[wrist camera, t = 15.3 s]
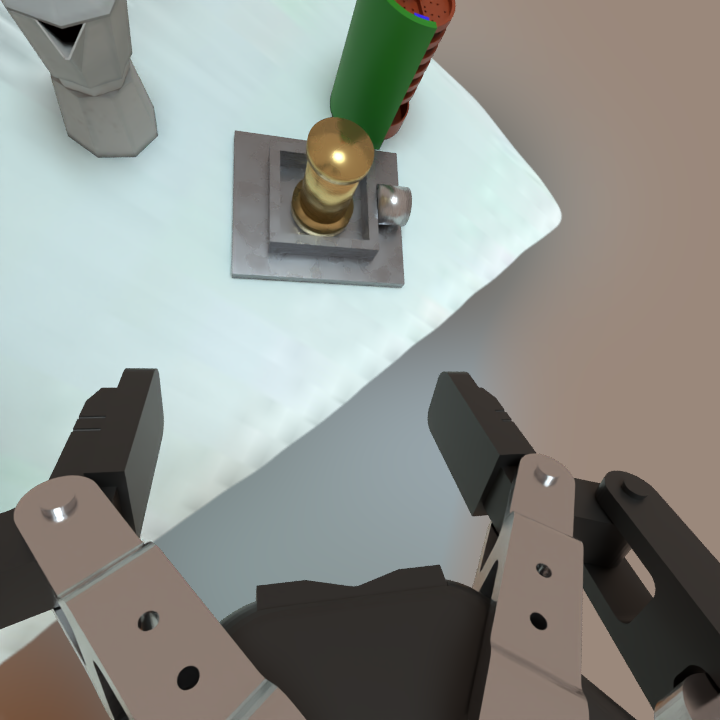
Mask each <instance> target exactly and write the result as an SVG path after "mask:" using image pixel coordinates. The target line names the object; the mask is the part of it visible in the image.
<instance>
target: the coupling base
mask: <svg viewBox="0 0 720 720" xmlns="http://www.w3.org/2000/svg"><path fill="white" fill-rule="evenodd" d="M306 144H307V141H305V140H298V139H291V138H284V137H277V136H270V135H263V134H256V133H249V132H242V131H235V141H234V191H233V240H232V277H233V278H250V279H267V280H283V281H300V282H317V283H334V284H351V285H368V286H384V287H402V286H403V285H404V269H403V253H402V236H401V226H405V225H406V223H407V222H408V219H409V216H410V212H411V205H412V195H411V191H410V189H409V188H408V187H401V186H398V171H397V155H396V153H390V152H383V151H376V150H374V160H373V163H372V165H371V167H370V170H369V172H368V174H367V175H366V176H365V177H364V178H363V179H362V180H361V181H359V183H358V186H357V188H356V190H355V193H354V195H353V197H352V198H353V204H354V209H353V214H352V216H351V219H350V221H349V223H348V225H347V227H346V228H345V229H344V230H343V231H342V232H341V233H340V234H338V235H336V236H334V237H325V236H313V235H310V234H308V233H306V232H305V231H303V230H302V229H301V228H300V227H299V226H298V225H297V224H296V222H295V220H294V218H293V216H292V212H291V201H292V196H293V192H294V189H295V187H296V185H297V184H298V183H299V182H300V181H301V180H302V179H303V178H304V175H305V170H306V166H307V161H308V160H307V156H306Z"/></svg>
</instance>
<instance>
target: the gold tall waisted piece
mask: <svg viewBox="0 0 720 720" xmlns="http://www.w3.org/2000/svg"><path fill="white" fill-rule="evenodd" d="M306 156H307V160H308V161H307V166H306V170H305V175H304V178H303V179H302V180H301V181H300V182H299V183H298V184H297V185H296V187H295V189H294V192H293V196H292V201H291V212H292V216H293V218H294V220H295V222H296V224H297V225H298V226H299V227H300V228H301V229H302V230H303V231H305V232H306V233H308V234H310V235H313V236H325V237H334V236H336V235H338V234H340V233H341V232H342V231H343V230H344V229H345V228H346V227H347V225H348V223H349V221H350V219H351V216H352V214H353V209H354V204H353V198H352V197H353V195H354V193H355V190H356V188H357V186H358V183H359V181H361V180H362V179H363V178H364V177H365V176H366V175H367V174H368V172H369V170H370V167H371V165H372V163H373V160H374V147H373V144H372V141H371V139H370V137H369V136H368V134H367V133H366V132H365V131H364V130H363V129H362V128H361V127H360V126H359V125H357V124H356V123H354V122H352V121H350V120H347V119H344V118H338V117H331V118H326V119H323V120H321V121H319V122H317V123H316V124H315V125H314V126H313V127H312V129H311V130H310V132H309V135H308V139H307V144H306Z"/></svg>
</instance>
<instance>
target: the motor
mask: <svg viewBox="0 0 720 720" xmlns="http://www.w3.org/2000/svg"><path fill="white" fill-rule="evenodd" d="M454 12H455V0H357V1H356V5H355V9H354V12H353V16H352V20H351V24H350V27H349V31H348V35H347V38H346V42H345V46H344V49H343V53H342V57H341V60H340V64H339V68H338V71H337V75H336V79H335V83H334V86H333V90H332V94H331V98H330V108H331V113H332V116H333V117H338V118H344V119H347V120H350V121H352V122H354V123H356V124H357V125H359V126H360V127H361V128H362V129H363V130H364V131H365V132H366V133H367V134H368V136H369V137H370V139H371V141H372V144H373V147H374V149H380V147H381V145H382V142H383V140H384V139H388V138H390V137H392V136H394V135H395V134H396V133H397V132H398V131H399V129H400V127H401V125H402V123H403V121H404V119H405V117H406V115H407V113H408V110H409V100H410V99H411V98H412V97H413V95H414V93H415V91H416V89H417V86H418V84H419V83H420V81H421V79H422V77H423V74H424V72H425V71H426V69H427V67H428V65H429V63H430V60H431V58H432V56H433V55H434V53H435V51H436V49H437V47H438V43H439V42H440V41H441V39H442V37H443V35H444V33H445V31H446V27H447V26H448V25H449V23H450V21H451V19H452V17H453V15H454Z"/></svg>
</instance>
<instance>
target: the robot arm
mask: <svg viewBox="0 0 720 720" xmlns="http://www.w3.org/2000/svg"><path fill="white" fill-rule="evenodd" d="M428 425H429V429H430V432H431V433H432V436H433V438H434V439H435V442H436V444H437V446H438V448H439V450H440V452H441V454H442V456H443V458H444V460H445V462H446V464H447V466H448V468H449V470H450V472H451V474H452V476H453V478H454V480H455V482H456V484H457V486H458V488H459V490H460V492H461V495H462V497H463V498H464V500H465V503H466V505H467V507H468V509H469V511H470V513H471V515H472V516H482V515H488V516H489V518H490V519H491V522H490V524H489V526H488V529H487V533H486V536H485V540H484V545H483V548H482V552H481V556H480V560H479V564H478V568H477V572H476V575H475V579H474V583H473V586H472V588H471V587H469V586H466V585H464V584H461V583H458V582H454V581H451V580H446V579H445V578H444V575H443V572H442V569H441V567H440V565H433V566H425V567H416V568H407V569H398V570H396V571H393V572H391V573H389V574H386V575H384V576H382V577H379V578H377V579H374V580H372V581H369V582H367V583H364V584H362V585H359V586H355V587H353V586H344V585H337V584H329V583H322V582H315V581H307V580H303V581H294V582H285V583H277V584H269V585H259V586H257V590H256V601H255V602H253V603H250V604H248V605H246V606H244V607H242V608H240V609H238V610H237V611H235V612H233V613H232V614H230V615H229V616H227V617H226V618H224V619H223V620H222V621H221V622H218V621H217V619H216V618H215V617H214V616H213V614H212V613H211V612H210V611H209V609H208V608H207V607H206V606H205V604H204V603H203V602H202V601H201V599H200V598H199V597H198V596H197V594H196V593H195V592H194V591H193V589H192V588H191V587H190V586H189V584H188V583H187V582H186V581H185V580H184V578H183V577H182V576H181V574H180V573H179V572H178V571H177V569H176V568H175V567H174V566H173V564H172V563H171V562H170V561H169V559H168V558H167V557H166V556H165V554H164V553H163V552H162V551H161V550H160V548H159V547H158V546H157V545H156V544H154V543H153V542H148V543H146V544H144V543H143V542H142V541H141V540H140V539H139V538H140V534H141V529H142V525H143V520H144V516H145V511H146V507H147V503H148V498H149V494H150V489H151V485H152V480H153V476H154V472H155V467H156V463H157V458H158V454H159V450H160V445H161V441H162V436H163V426H164V416H163V406H162V397H161V388H160V378H159V372H158V369H145V368H126V369H125V370H124V372H123V374H122V377H121V379H120V382H119V384H118V387H117V388H101V389H100V390H99V391H97V392H96V393H95V394H94V395H93V396H91V397H90V398H89V399H88V400H87V401H86V402H85V405H84V407H83V409H82V411H81V413H80V415H79V419H77V421H76V424H75V426H74V428H73V432H71V434H70V436H69V438H68V440H67V443H66V445H65V447H64V449H63V451H62V453H61V455H60V457H59V459H58V462H57V464H56V466H55V468H54V470H53V472H52V474H51V476H50V478H49V480H48V481H46V482H43V483H41V484H39V485H37V486H36V487H34V488H33V489H31V490H30V491H29V492H28V493H26V494H25V495H24V496H23V497H22V498H21V500H20V501H19V502H18V504H17V506H16V508H14V509H11V510H9V511H6V512H3V513H0V629H2V628H5V627H7V626H10V625H12V624H15V623H18V622H20V621H23V620H25V619H28V618H30V617H33V616H35V615H38V614H41V613H43V612H46V611H48V610H52V611H53V613H54V615H55V617H56V618H57V620H58V622H59V624H60V625H61V627H62V629H63V631H64V632H65V634H66V636H67V638H68V640H69V642H70V643H71V645H72V647H73V649H74V650H75V652H76V654H77V656H78V658H79V659H80V661H81V663H82V664H83V667H84V668H85V670H86V672H87V674H88V676H89V677H90V679H91V681H92V683H93V685H94V687H95V689H96V692H97V694H98V696H99V698H100V700H101V702H102V704H103V706H104V707H105V710H106V711H107V713H108V715H109V717H110V719H111V720H636V719H635V718H634V717H633V716H631V715H630V714H629V713H628V712H626V711H625V710H624V709H623V708H622V707H620V706H619V705H618V704H617V703H615V702H614V701H613V700H612V699H611V698H610V697H608V696H607V695H606V694H605V693H604V692H602V691H601V690H600V689H599V688H597V687H596V686H595V685H594V684H593V683H591V682H590V681H589V680H587V678H585V677H584V676H583V675H582V674H581V657H582V602H583V601H582V600H583V589H584V591H585V592H586V594H587V596H588V598H589V599H590V601H591V603H592V604H593V606H594V608H595V610H596V611H597V613H598V615H599V616H600V618H601V620H602V622H603V623H604V625H605V627H606V629H607V630H608V632H609V634H610V636H611V637H612V639H613V641H614V642H615V644H616V646H617V648H618V649H619V651H620V653H621V654H622V656H623V658H624V660H625V662H626V663H627V665H628V667H629V668H630V670H631V672H632V674H633V675H634V677H635V679H636V681H637V682H638V684H639V686H640V687H641V689H642V691H643V693H644V694H645V696H646V698H647V699H648V701H649V702H650V704H651V706H652V708H653V710H654V720H720V563H719V562H718V561H717V559H716V558H715V557H714V556H713V555H712V554H711V553H710V551H709V550H708V549H707V548H706V547H705V546H704V545H703V544H702V542H701V541H700V540H699V539H698V538H697V537H696V536H695V534H694V533H693V532H692V531H691V530H690V529H689V528H688V527H687V526H686V524H685V523H684V522H683V521H682V520H681V519H680V517H679V516H677V514H676V513H675V512H674V511H673V510H672V508H671V507H670V506H669V505H668V504H667V503H666V502H665V500H664V499H662V497H661V496H660V495H659V494H658V493H657V491H655V489H654V488H653V487H652V486H650V485H649V484H648V483H646V482H645V481H644V480H642V479H640V478H639V477H637V476H635V475H632V474H630V473H627V472H623V471H611V472H609V473H607V474H606V476H605V477H604V478H603V480H602V482H601V483H595V482H591V481H586V480H581V479H576V478H573V476H572V474H571V473H570V471H569V470H568V469H567V468H566V467H565V466H564V465H563V464H561V463H560V462H558V461H557V460H555V459H553V458H551V457H548V456H546V455H542V454H536V452H535V451H534V449H533V448H532V447H531V445H530V444H529V442H528V441H527V440H526V438H525V437H524V436H523V434H522V433H521V432H520V430H519V429H518V427H517V426H516V425H515V423H514V422H512V421H511V418H510V417H509V415H508V414H507V413H506V412H504V408H503V407H502V406H501V404H500V403H499V402H498V400H497V399H496V398H495V397H494V396H492V395H491V394H490V393H489V392H487V391H486V390H485V389H483V388H479V387H478V386H477V384H476V383H475V382H474V380H473V379H472V378H471V376H470V375H469V373H467V372H442V373H441V374H440V375H439V378H438V381H437V384H436V388H435V391H434V394H433V397H432V401H431V404H430V407H429V411H428ZM631 549H633V551H634V552H635V553H636V555H637V556H638V558H639V559H640V560H641V562H642V563H643V564H644V566H645V567H646V569H647V570H648V571H649V573H650V574H651V576H652V578H653V580H654V583H655V588H656V591H655V596H654V598H653V597H652V596H651V594H650V593H649V591H648V590H647V589H646V587H645V586H644V584H643V583H642V582H641V580H640V579H639V577H638V576H637V575H636V573H635V571H634V570H633V569H632V567H631V566H630V564H629V563H628V562H627V560H626V559H625V556H626V555H627V554H628V552H629V551H630V550H631Z"/></svg>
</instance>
